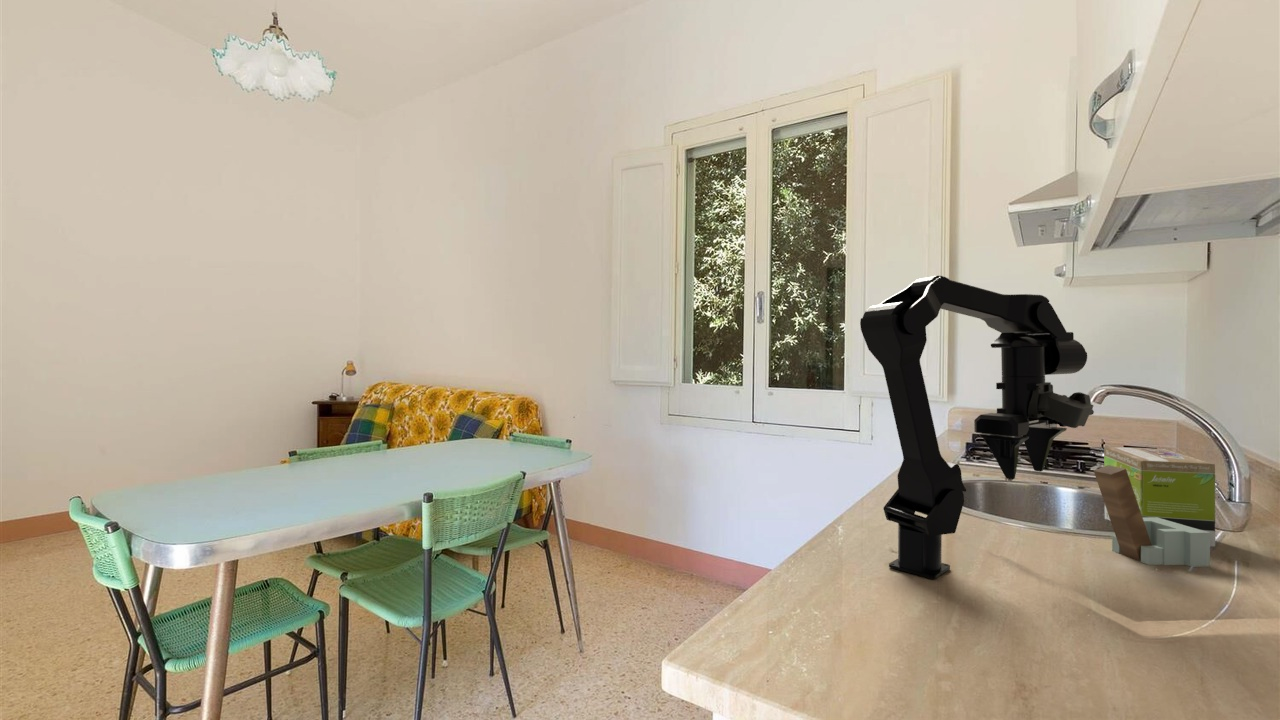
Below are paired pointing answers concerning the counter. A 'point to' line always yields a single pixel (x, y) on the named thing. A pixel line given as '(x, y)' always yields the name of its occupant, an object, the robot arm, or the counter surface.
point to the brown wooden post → (1123, 510)
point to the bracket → (1173, 544)
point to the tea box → (1169, 485)
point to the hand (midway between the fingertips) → (1024, 474)
